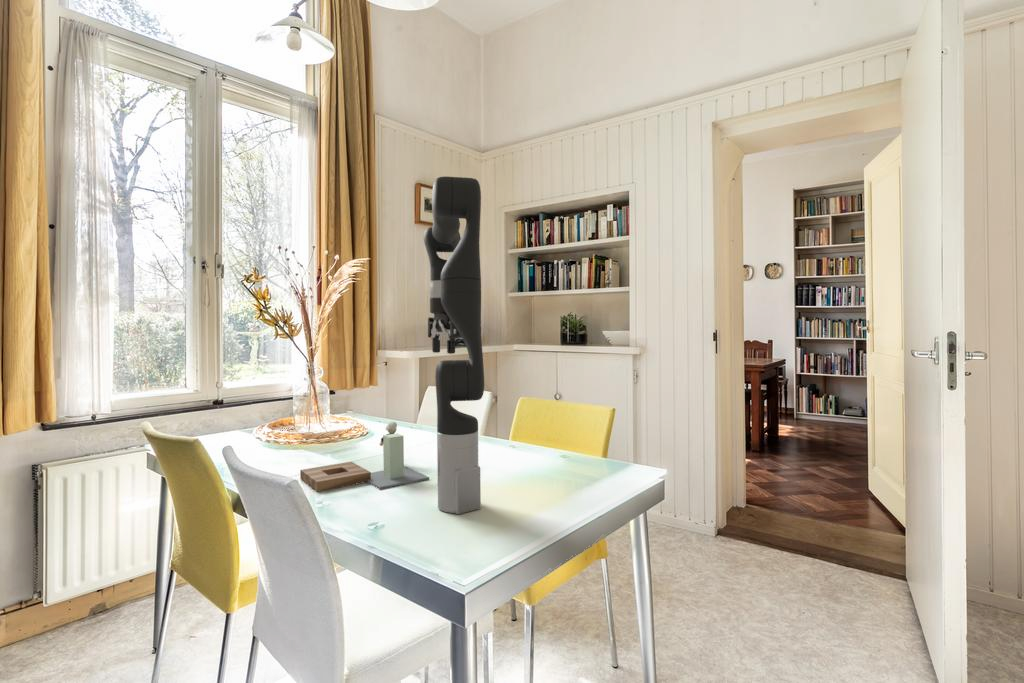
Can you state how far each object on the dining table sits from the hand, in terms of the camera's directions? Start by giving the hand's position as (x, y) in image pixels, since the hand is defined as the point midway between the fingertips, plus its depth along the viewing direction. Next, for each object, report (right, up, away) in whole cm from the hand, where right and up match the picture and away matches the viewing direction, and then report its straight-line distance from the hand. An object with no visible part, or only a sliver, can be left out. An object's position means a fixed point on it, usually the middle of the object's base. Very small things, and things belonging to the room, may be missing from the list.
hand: (443, 353), depth 154 cm
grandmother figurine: (-16, -33, +4) cm, 37 cm away
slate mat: (-12, -34, -11) cm, 37 cm away
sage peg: (-12, -33, -11) cm, 37 cm away
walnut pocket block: (-27, -34, -12) cm, 45 cm away
